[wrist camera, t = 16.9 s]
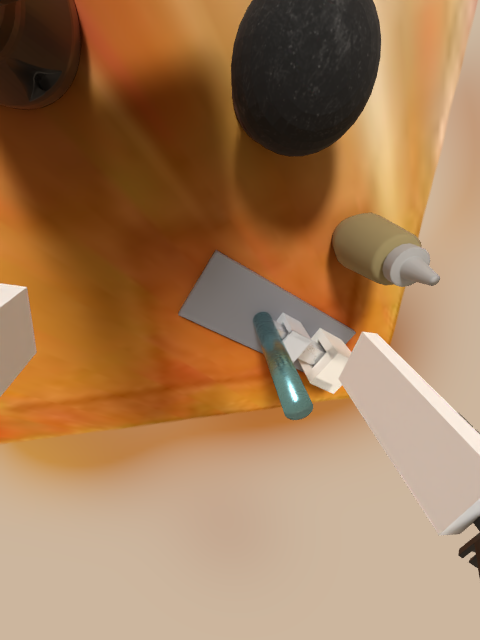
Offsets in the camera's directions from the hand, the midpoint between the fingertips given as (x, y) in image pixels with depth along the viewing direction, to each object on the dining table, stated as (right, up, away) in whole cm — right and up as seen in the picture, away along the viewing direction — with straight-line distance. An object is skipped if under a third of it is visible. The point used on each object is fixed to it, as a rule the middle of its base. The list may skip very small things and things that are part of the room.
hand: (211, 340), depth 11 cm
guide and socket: (+8, 0, +38) cm, 39 cm away
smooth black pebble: (+6, +28, +22) cm, 36 cm away
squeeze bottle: (+18, +14, +32) cm, 39 cm away
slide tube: (+10, -2, +38) cm, 39 cm away
